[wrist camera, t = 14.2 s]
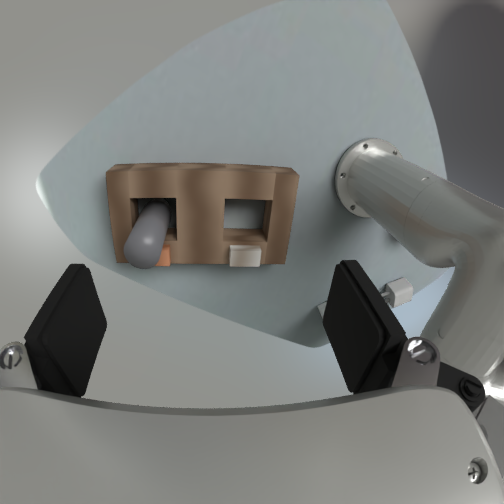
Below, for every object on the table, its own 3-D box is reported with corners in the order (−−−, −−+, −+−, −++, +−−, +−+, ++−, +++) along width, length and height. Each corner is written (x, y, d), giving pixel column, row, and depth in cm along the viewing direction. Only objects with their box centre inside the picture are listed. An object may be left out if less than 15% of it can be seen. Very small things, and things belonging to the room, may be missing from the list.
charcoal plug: (172, 195, 37) (158, 235, 27) (173, 221, 39) (161, 269, 29) (144, 195, 37) (121, 235, 26) (146, 221, 39) (126, 268, 28)
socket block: (291, 167, 38) (303, 178, 33) (278, 250, 44) (287, 269, 39) (115, 164, 34) (101, 175, 29) (123, 248, 40) (114, 268, 36)
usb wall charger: (401, 290, 54) (411, 302, 50) (374, 300, 54) (382, 313, 50) (403, 275, 52) (413, 287, 48) (374, 286, 52) (384, 299, 48)
